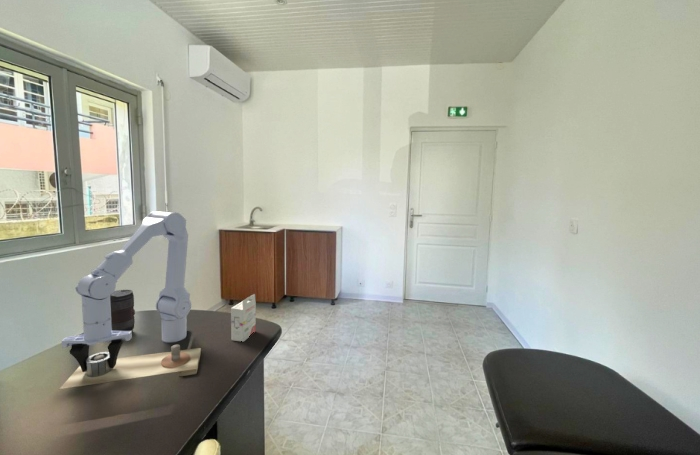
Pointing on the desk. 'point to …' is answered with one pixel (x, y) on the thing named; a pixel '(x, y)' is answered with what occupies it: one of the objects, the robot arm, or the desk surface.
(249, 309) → the ink cartridge box
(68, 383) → the stand board
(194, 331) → the desk surface
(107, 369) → the collar
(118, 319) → the camera lens
